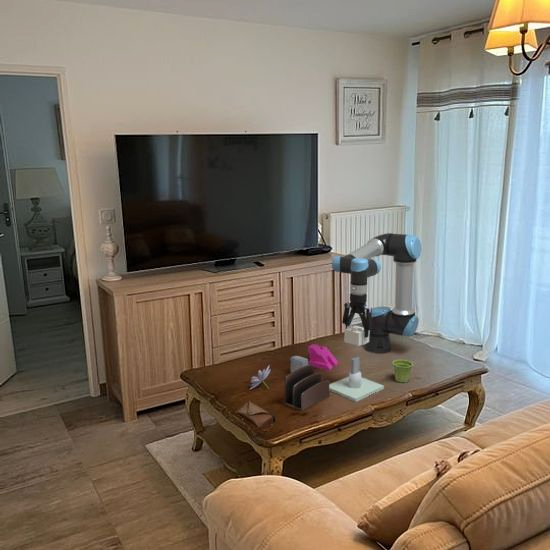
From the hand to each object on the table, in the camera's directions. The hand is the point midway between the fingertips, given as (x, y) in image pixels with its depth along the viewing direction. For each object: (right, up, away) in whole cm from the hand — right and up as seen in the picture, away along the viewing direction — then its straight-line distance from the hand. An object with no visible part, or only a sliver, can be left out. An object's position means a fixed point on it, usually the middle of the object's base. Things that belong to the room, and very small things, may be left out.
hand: (356, 341), depth 257 cm
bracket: (-12, -16, +31) cm, 37 cm away
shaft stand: (-1, -22, +2) cm, 22 cm away
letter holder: (-23, -25, -9) cm, 35 cm away
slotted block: (0, 0, 0) cm, 0 cm away
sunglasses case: (-46, -29, -23) cm, 59 cm away
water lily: (-44, -22, +6) cm, 50 cm away
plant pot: (+23, -20, +12) cm, 33 cm away
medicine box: (-25, -19, +19) cm, 37 cm away
